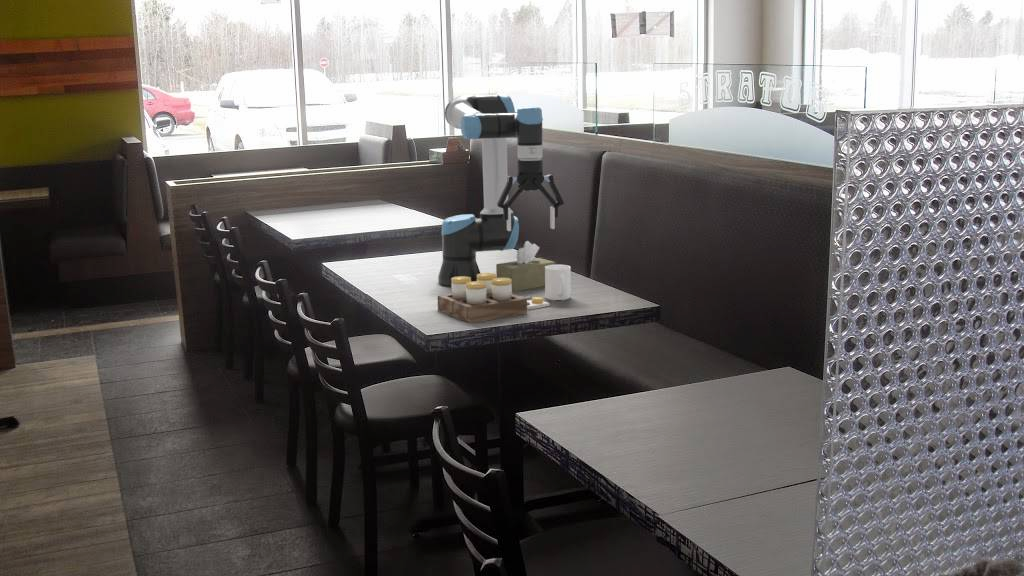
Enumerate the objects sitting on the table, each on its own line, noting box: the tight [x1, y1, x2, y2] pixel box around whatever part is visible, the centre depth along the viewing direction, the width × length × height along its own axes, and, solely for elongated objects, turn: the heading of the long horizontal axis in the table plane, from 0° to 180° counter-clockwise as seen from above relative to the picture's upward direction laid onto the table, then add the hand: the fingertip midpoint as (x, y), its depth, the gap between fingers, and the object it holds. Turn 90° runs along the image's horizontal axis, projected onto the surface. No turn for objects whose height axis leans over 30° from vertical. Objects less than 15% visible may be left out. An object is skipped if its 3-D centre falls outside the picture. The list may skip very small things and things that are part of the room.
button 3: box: [477, 272, 497, 296], centre depth 307 cm, size 6×6×6 cm
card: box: [522, 295, 550, 311], centre depth 310 cm, size 12×10×2 cm
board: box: [437, 293, 528, 324], centre depth 302 cm, size 20×20×5 cm
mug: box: [544, 264, 572, 301], centre depth 316 cm, size 12×8×10 cm
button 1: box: [451, 276, 471, 300], centre depth 302 cm, size 6×6×6 cm
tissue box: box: [495, 240, 557, 292], centre depth 337 cm, size 19×10×16 cm, turn 124°
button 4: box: [492, 277, 513, 301], centre depth 299 cm, size 6×6×6 cm
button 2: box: [466, 281, 487, 305], centre depth 294 cm, size 6×6×6 cm
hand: (530, 229), depth 299 cm, fingers open, 13 cm apart
